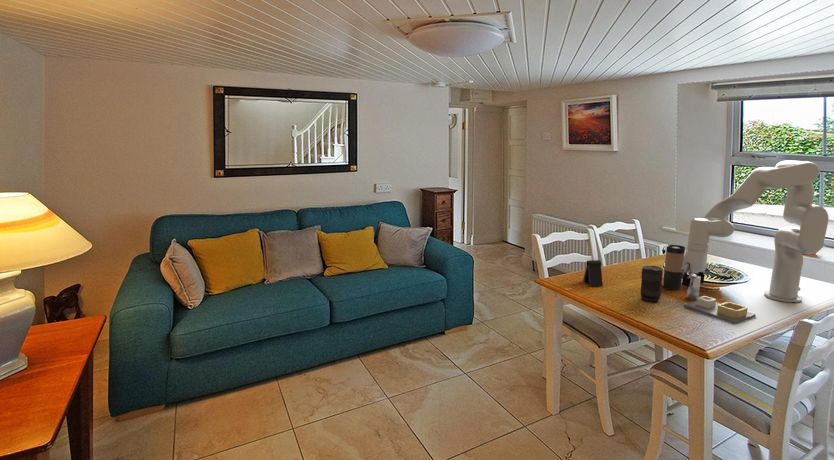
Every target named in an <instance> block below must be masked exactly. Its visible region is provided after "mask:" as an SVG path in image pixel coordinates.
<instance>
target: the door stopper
mask: <svg viewBox="0 0 834 460" xmlns="http://www.w3.org/2000/svg"><path fill="white" fill-rule="evenodd" d="M583 281H584V282H585V285H587V284H588V285H589V286H588V285H587V286H588V287H590V288H595V287H596V288H597V287H599V286H603V284H604V283H603V275H602V260H600V259H595V260H594V259H593V260H586V266H585V271H584V275H583V279H582V282H583ZM584 282H583V283H584ZM599 288H600V287H599Z"/></svg>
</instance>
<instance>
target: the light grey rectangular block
mask: <svg viewBox="0 0 834 460" xmlns="http://www.w3.org/2000/svg"><path fill="white" fill-rule="evenodd" d="M690 278H691V281H690V287H687V290H686V291H687V292H686V298H687V299H690V300H697V298H698V297H700V296H699V295H700V287H701V283H700V279H701V277H700V276H698V275H697V274H692V275H691V276H690Z"/></svg>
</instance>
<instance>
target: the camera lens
mask: <svg viewBox="0 0 834 460" xmlns="http://www.w3.org/2000/svg"><path fill="white" fill-rule="evenodd" d="M640 276H641V284H640V297H641V300H642V302H645V303H648V304H649V303H650V304H656V303H659V301H660V298H661V294H662V287H663V284H662V281H663V278H664V269H663V268H662V267H660V266H657V265H643V266H642V269H641V275H640Z"/></svg>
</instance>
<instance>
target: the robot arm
mask: <svg viewBox="0 0 834 460" xmlns="http://www.w3.org/2000/svg"><path fill="white" fill-rule="evenodd" d="M819 176H820V167H819V166H818V164H816V163H814V162H811V161H802V160H782V161H779V162H778V163H777V164H776V165H775V167H770V166H769V167H768V166H767V167H766V166H761V167H757V168H755V169H753V170H752V171H751V172H750V173H749V174H748V175H747V177H746V178H745V179H744V180H743V182H742V183H741V184H740V185H739V186H738V187H737V188H736V190H735V191H734V192H733V193H732V194H731V195H730V196H728V197H726V198H724V199H723V200H721V201H720V202H718V203H716V204H715V205H714V206H713V207H711V208H710V210H709V211H708V212H707V213H706V214H705V216H704V217H703V218H701V217H698V218H692V219H690V224H689V225H690V226H689V234H688V238H687V239H688V240H687V249H686V250H685V255H684V261H683V267H682V268H681V271H682V281H681V286H684V287H686V288H688V287H690V281H691V278H690V276H691V275H694V274H696V275H698V276H700V277H701V279H700V285H703V284H704V281H705V276H706V272H707V270H708V267H709V264H708V251H709V243H710V237H718V238H727V237H730V236H731V235H733V233H734V232H735V226H734V224H733V223H732V222H731V221H729V220H728V219H727V220H726V218H727V217H728V216H729V215H730V214H733V213H734V212H737V211H740V210H745V209H748V208H752V206H754V205H755V203H756V202H757V201H758V200H759V199H760V198H761V197H762V195H763V194H764V193H765V192H766V191H767V190H768V189H770V190H780V189H781V190H783V189H786V197H785V202H784V208H783V215H782V216H783V219H784V221H785V222H787V223H789V224H792V225H795V226H783V227H780V229H778V230H777V231H776V232H775V234H774V238H773V239H774V240H773V241H774V258H773V265H772V270H771V271H772V272H771V277H770V284H769V290H766V291H765V292H764V294H763V295H764V296H765V297H766V298H768V299H771V300H774V301H778V302H782V303H783V302H784V303H792V302H795V303H800V302H802V300H803V298H802V297H801V296H800V295H798V294H799V291H801V287H800V282H801V278H802V277H801V275H802V269H803V265H804V256H803V255H814V254H817V253H818V252H819V251H821V249H822V247H823V245H824V242H825V239H826V234H827V231H828V230H827V229H828V225H829V213H828V211H827V209H826V208H824V207H823V206H821V205H817V204H814V203H813V201H814V194H815V193H814V192H815V189H814V183H813V182H814V181H815V180H817V178H818V177H819ZM796 225H797V226H798V227H796Z"/></svg>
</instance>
